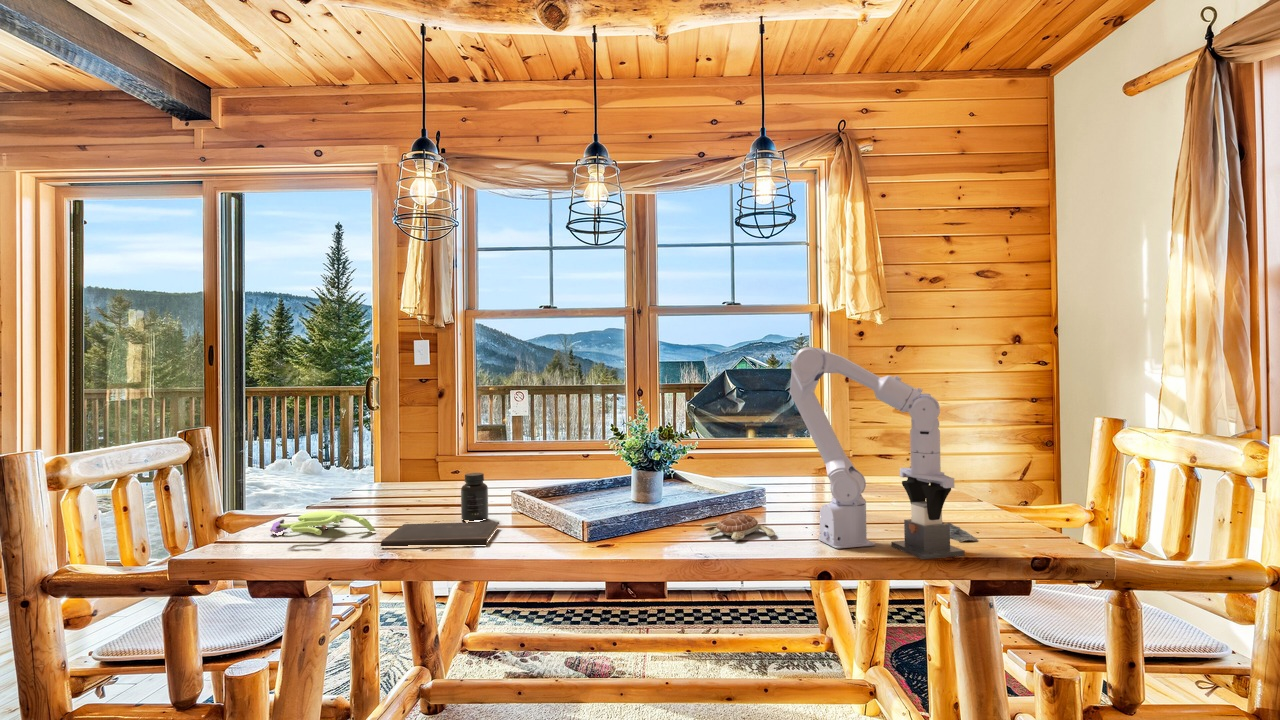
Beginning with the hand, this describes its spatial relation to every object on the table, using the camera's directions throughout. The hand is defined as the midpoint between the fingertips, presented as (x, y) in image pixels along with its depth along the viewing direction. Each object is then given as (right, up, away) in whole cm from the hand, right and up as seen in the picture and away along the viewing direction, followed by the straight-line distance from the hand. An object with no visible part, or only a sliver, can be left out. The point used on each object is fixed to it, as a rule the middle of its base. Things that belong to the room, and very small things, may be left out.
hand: (926, 516), depth 135 cm
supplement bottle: (-103, -9, +33) cm, 108 cm away
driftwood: (+12, -8, +16) cm, 22 cm away
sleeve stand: (0, -7, 0) cm, 7 cm away
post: (0, -6, 0) cm, 6 cm away
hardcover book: (-106, -9, +15) cm, 107 cm away
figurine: (-137, -10, +21) cm, 138 cm away
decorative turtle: (-37, -8, +16) cm, 41 cm away
